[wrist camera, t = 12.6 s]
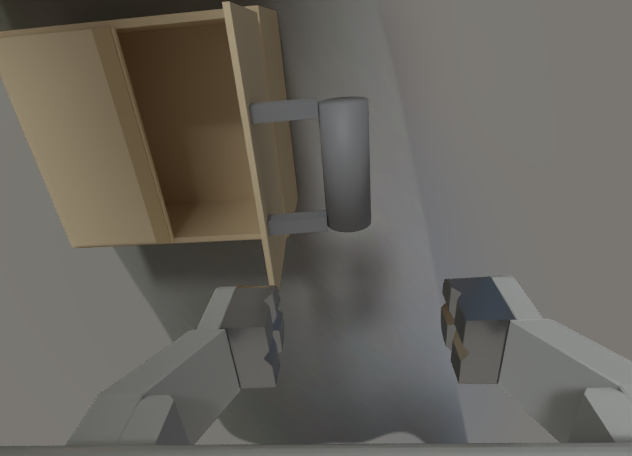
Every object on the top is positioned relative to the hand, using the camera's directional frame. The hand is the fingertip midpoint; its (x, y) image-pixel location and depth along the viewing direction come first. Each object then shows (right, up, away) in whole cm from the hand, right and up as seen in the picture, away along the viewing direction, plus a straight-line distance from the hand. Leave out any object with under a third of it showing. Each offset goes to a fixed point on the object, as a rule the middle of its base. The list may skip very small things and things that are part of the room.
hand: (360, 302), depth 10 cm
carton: (-12, +11, +25) cm, 30 cm away
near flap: (-4, +6, +13) cm, 15 cm away
